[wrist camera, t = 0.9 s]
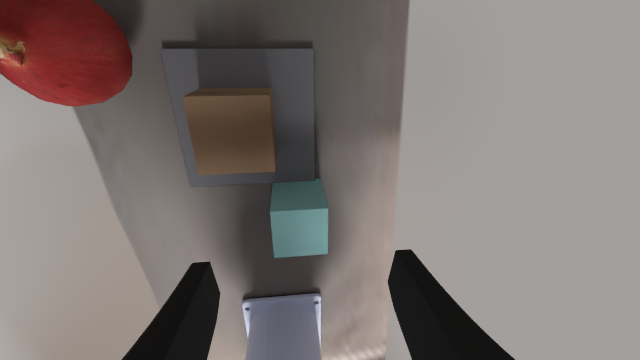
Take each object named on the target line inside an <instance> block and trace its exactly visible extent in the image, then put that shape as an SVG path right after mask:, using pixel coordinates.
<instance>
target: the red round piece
mask: <svg viewBox="0 0 640 360" xmlns="http://www.w3.org/2000/svg"><path fill="white" fill-rule="evenodd" d="M0 74H2V75H3V76H4V77H6V78H7V79H8V80H9V81H11V82H12V83H13V84H15V85H16V86H18V87H20V88H21V89H23V90H25V91H27V92H28V93H30V94H32V95H34V96H35V97H37V98H39V99H41V100H44V101H47V102H52V103H57V104H62V105H66V106H82V105H89V104H95V103H101V102H105V101H106V100H108V99H109V98H111V97H113V96H114V95H116V94H118V93H119V92H121V91H122V90H123V89H124V88H125V86H126V84H127V83H128V81H129V79H130V77H131V76H132V53H131V50H130V48H129V45H128V42H127V39H126V36H125V34H124V33H123V31H122V30H121V29H120V27H119V26H118V24H117V23H116V21H115V20H114V18H113V17H112V16H111V15H110V14H109V13H108V12H106V11H105V10H104V9H103V8H101V7H100V6H99V5H97V4H96V3H95V2H94V1H92V0H0Z"/></svg>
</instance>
